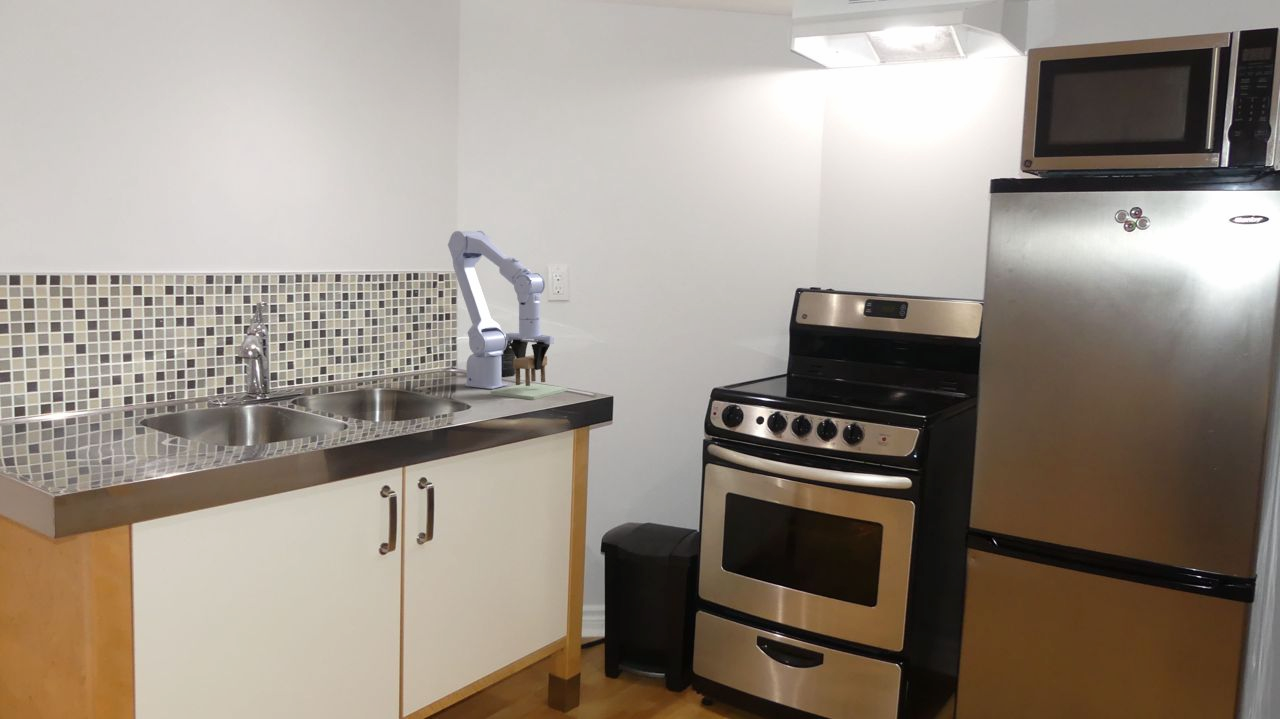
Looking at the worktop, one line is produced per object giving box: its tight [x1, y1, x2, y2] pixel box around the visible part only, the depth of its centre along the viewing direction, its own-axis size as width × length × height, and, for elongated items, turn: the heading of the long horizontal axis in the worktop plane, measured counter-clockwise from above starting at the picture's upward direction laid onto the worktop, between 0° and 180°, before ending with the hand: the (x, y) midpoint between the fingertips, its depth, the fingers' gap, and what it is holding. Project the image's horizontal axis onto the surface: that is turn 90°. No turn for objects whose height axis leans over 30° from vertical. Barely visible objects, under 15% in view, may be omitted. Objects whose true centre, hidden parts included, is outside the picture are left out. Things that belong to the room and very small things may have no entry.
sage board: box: [490, 382, 568, 401], centre depth 264 cm, size 14×16×1 cm
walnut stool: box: [513, 354, 548, 386], centre depth 262 cm, size 9×5×7 cm, turn 151°
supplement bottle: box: [501, 340, 516, 377], centre depth 291 cm, size 7×7×12 cm
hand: (529, 368), depth 262 cm, fingers closed on walnut stool, 5 cm apart
